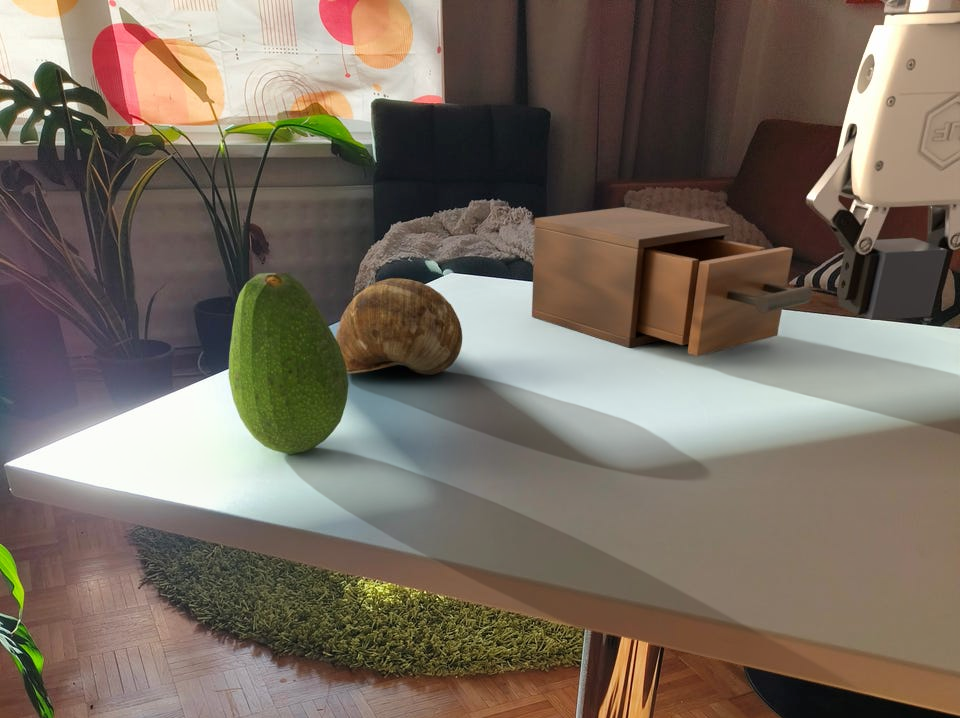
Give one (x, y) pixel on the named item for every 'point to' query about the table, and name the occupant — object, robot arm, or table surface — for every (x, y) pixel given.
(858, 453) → the table surface
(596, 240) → the cabinet
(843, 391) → the table surface
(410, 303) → the seashell
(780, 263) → the drawer
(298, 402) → the fruit
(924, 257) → the block
